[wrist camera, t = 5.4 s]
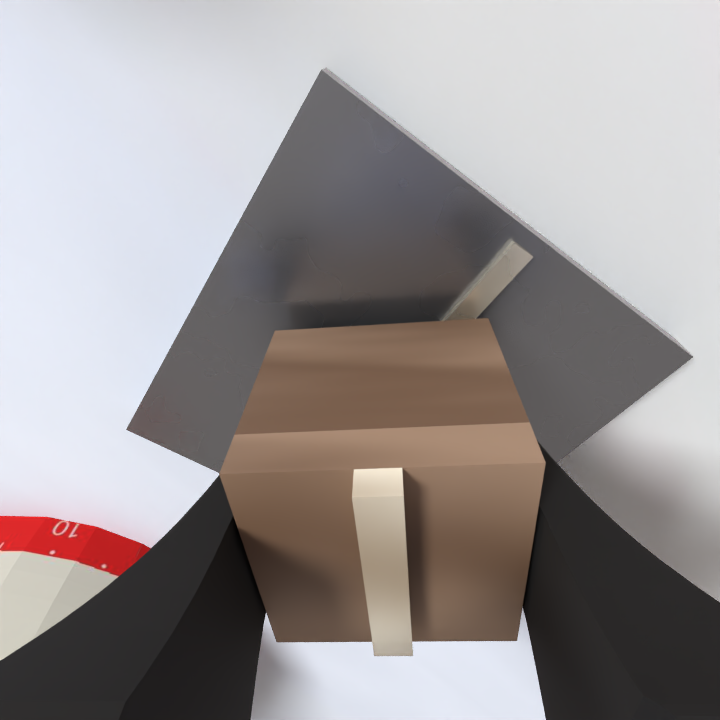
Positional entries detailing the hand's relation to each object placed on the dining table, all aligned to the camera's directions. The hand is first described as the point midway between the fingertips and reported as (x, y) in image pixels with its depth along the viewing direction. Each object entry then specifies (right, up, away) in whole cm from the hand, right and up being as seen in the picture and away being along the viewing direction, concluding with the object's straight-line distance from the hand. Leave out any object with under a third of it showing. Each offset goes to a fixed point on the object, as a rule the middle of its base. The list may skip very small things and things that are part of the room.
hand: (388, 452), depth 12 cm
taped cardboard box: (0, +1, +1) cm, 2 cm away
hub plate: (0, +2, +3) cm, 3 cm away
